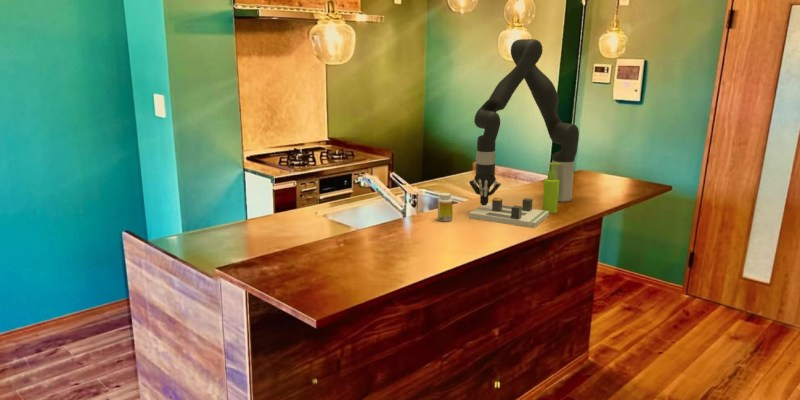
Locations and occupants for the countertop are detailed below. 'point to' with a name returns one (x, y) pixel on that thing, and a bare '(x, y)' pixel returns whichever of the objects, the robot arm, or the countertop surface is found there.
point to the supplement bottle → (445, 207)
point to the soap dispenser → (551, 190)
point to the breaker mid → (497, 204)
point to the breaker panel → (509, 215)
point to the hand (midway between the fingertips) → (484, 204)
